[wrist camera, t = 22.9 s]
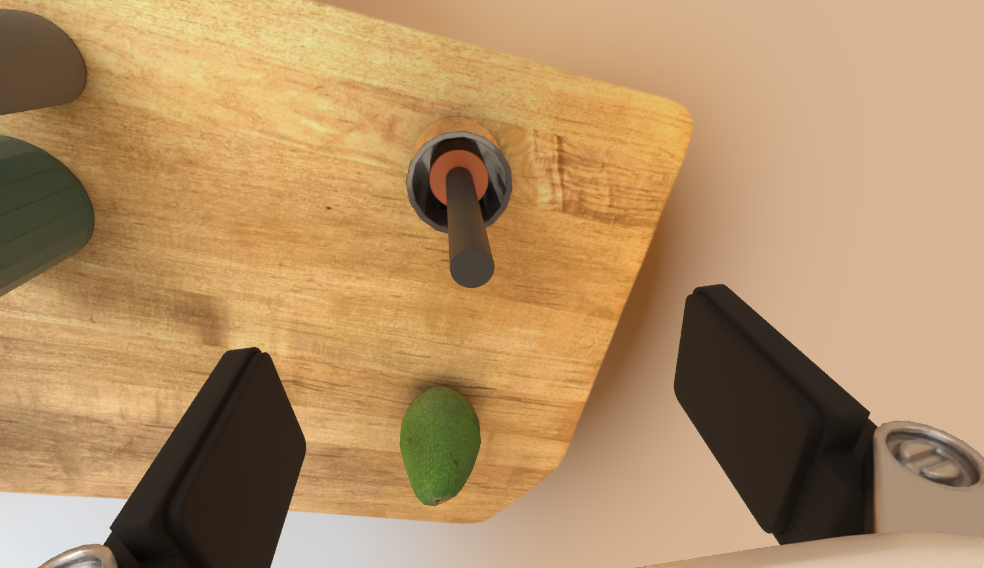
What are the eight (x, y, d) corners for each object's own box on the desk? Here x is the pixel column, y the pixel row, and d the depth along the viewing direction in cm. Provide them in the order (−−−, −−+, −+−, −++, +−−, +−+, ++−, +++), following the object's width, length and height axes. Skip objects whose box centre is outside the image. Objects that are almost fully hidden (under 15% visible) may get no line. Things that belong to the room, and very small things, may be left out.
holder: (404, 121, 36) (397, 138, 29) (495, 111, 36) (507, 125, 30) (420, 209, 39) (416, 240, 33) (503, 199, 39) (515, 228, 33)
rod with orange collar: (426, 142, 36) (415, 229, 19) (481, 136, 36) (517, 216, 19) (434, 196, 38) (431, 316, 21) (486, 189, 38) (523, 304, 22)
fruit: (394, 418, 50) (382, 520, 39) (416, 362, 46) (409, 457, 36) (462, 432, 52) (468, 532, 41) (487, 380, 48) (501, 474, 38)
